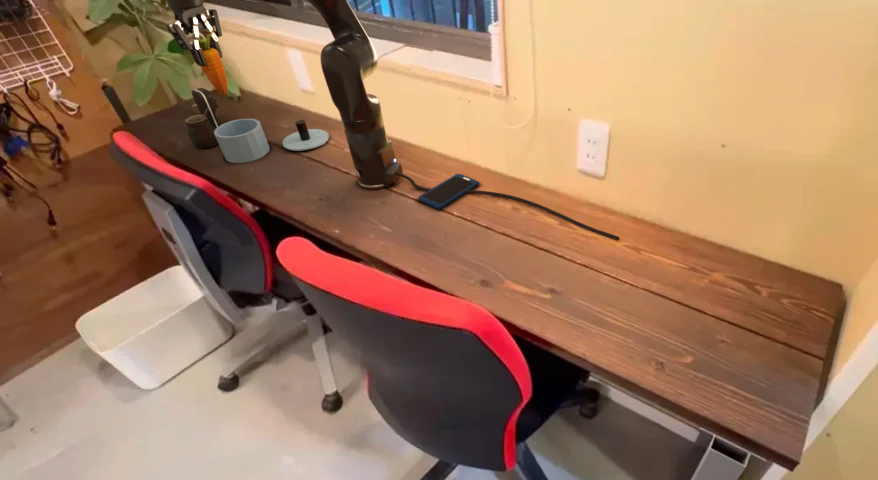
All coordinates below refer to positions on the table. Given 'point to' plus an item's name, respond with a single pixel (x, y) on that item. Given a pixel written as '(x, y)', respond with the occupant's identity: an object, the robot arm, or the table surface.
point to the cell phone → (448, 191)
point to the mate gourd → (201, 131)
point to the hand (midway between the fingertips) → (210, 61)
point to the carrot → (213, 65)
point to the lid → (305, 138)
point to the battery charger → (206, 105)
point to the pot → (242, 140)
